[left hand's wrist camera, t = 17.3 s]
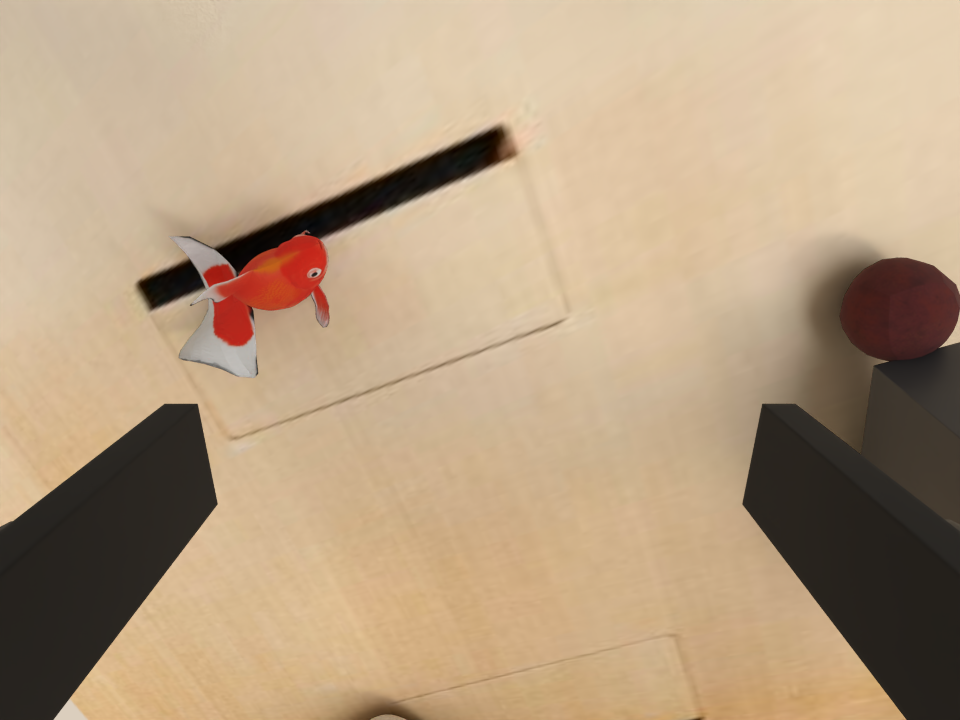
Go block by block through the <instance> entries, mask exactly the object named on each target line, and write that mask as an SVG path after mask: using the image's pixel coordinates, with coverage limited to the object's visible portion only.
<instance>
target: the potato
mask: <svg viewBox="0 0 960 720" xmlns="http://www.w3.org/2000/svg"><path fill="white" fill-rule="evenodd" d="M959 311H960V294H959V291H958V289H957V286H956V284H955V283H954V282H952V281H951V280H950V279H949V278H948V277H946V276H945V275H944V274H943V273H942V272H941V271H939V270H938V269H937V268H936V267H935V266H933V265H930V264H927V263H924V262H920V261H916V260H913V259H909V258H891V259H882V260H880V261H878V262H876V263H875V264H873V265H871V266H869V267H867V268H866V269H864V270H863V271H862V272H861V273H860V274H859V275H858V276H857V277H856V278H855V279H854V280H853V282H852V283H851V285H850V287H849V289H848V290H847V292H846V294H845V295H844V299H843V303H842V308H841V312H840V320H841V324H842V328H843V330H844V331H845V333H846V335H847V336H848V338H849V339H850V341H851V342H852V343H853V344H854V345H855V346H856V347H857V348H859V349H860V350H861V351H863V352H864V353H865V354H867V355H869V356H872V357H875V358H878V359H882V360H886V361H893V360H910V359H914V358H919V357H922V356H925V355H927V354H929V353H931V352H933V351H935V350H936V349H938V348H939V347H940V346H942V345H943V344H944V343H945V342H946V341H947V339H948V338H949V336H950V335H951V333H952V332H953V330H954V328H955V326H956V324H957V321H958V316H959Z"/></svg>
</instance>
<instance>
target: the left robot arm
mask: <svg viewBox="0 0 960 720" xmlns="http://www.w3.org/2000/svg"><path fill="white" fill-rule="evenodd" d="M216 506H217V499H216V494H215V489H214V484H213V479H212V474H211V469H210V464H209V458H208V453H207V448H206V443H205V438H204V433H203V428H202V423H201V418H200V413H199V408H198V404H164V405H163V406H161V407H160V408H159V409H157V410H156V411H155V412H154V413H152V414H151V415H150V416H148V417H147V418H146V419H144V420H143V421H142V422H141V423H139V424H138V425H137V426H135V427H134V428H133V429H132V430H130V431H129V432H128V433H126V434H125V435H124V436H123V437H121V438H120V439H119V440H117V441H116V442H115V443H113V444H112V445H111V446H110V447H108V448H107V449H106V450H104V451H103V452H102V453H101V454H99V455H98V456H97V457H95V458H94V459H93V460H92V461H90V462H89V463H88V464H86V465H85V466H84V467H82V468H81V469H80V470H79V471H77V472H76V473H75V474H73V475H72V476H71V477H70V478H68V479H67V480H66V481H64V482H63V483H62V484H61V485H59V486H58V487H57V488H55V489H54V490H53V491H51V492H50V493H49V494H48V495H46V496H45V497H44V498H42V499H41V500H40V501H39V502H37V503H36V504H35V505H33V506H32V507H31V508H30V509H28V510H27V511H26V512H24V513H23V514H22V515H20V516H19V517H18V518H17V519H15V520H14V521H11V522H9V523H7V524H5V525H3V526H1V527H0V720H54V718H55V717H56V716H57V714H58V713H59V712H60V710H61V709H62V708H63V706H64V705H65V704H66V702H67V701H68V700H69V699H70V697H71V696H72V695H73V693H74V692H75V691H76V689H77V688H78V687H79V685H80V684H81V683H82V681H83V680H84V679H85V678H86V676H87V675H88V674H89V672H90V671H91V670H92V668H93V667H94V666H95V664H96V663H97V662H98V660H99V659H100V658H101V657H102V655H103V654H104V653H105V651H106V650H107V649H108V647H109V646H110V645H111V643H112V642H113V641H114V639H115V638H116V637H117V636H118V634H119V633H120V632H121V630H122V629H123V628H124V626H125V625H126V624H127V622H128V621H129V620H130V618H131V617H132V616H133V615H134V613H135V612H136V611H137V609H138V608H139V607H140V605H141V604H142V603H143V601H144V600H145V599H146V597H147V596H148V595H149V594H150V592H151V591H152V590H153V588H154V587H155V586H156V584H157V583H158V582H159V580H160V579H161V578H162V576H163V575H164V574H165V573H166V571H167V570H168V569H169V567H170V566H171V565H172V563H173V562H174V561H175V559H176V558H177V557H178V555H179V554H180V553H181V552H182V550H183V549H184V548H185V546H186V545H187V544H188V542H189V541H190V540H191V538H192V537H193V536H194V534H195V533H196V532H197V531H198V529H199V528H200V527H201V525H202V524H203V523H204V521H205V520H206V519H207V517H208V516H209V515H210V513H211V512H212V511H213V510H214V508H215V507H216ZM743 506H744V507H745V508H746V510H747V511H748V512H749V513H750V515H751V516H752V517H753V519H754V520H755V521H756V523H757V524H758V525H759V527H760V528H761V529H762V531H763V532H764V533H765V534H766V536H767V537H768V538H769V540H770V541H771V542H772V544H773V545H774V546H775V548H776V549H777V550H778V552H779V553H780V554H781V555H782V557H783V558H784V559H785V561H786V562H787V563H788V565H789V566H790V567H791V569H792V570H793V571H794V573H795V574H796V575H797V576H798V578H799V579H800V580H801V582H802V583H803V584H804V586H805V587H806V588H807V590H808V591H809V592H810V594H811V595H812V596H813V597H814V599H815V600H816V601H817V603H818V604H819V605H820V607H821V608H822V609H823V611H824V612H825V613H826V615H827V616H828V617H829V618H830V620H831V621H832V622H833V624H834V625H835V626H836V628H837V629H838V630H839V632H840V633H841V634H842V636H843V637H844V638H845V639H846V641H847V642H848V643H849V645H850V646H851V647H852V649H853V650H854V651H855V653H856V654H857V655H858V657H859V658H860V659H861V660H862V662H863V663H864V664H865V666H866V667H867V668H868V670H869V671H870V672H871V674H872V675H873V676H874V678H875V679H876V680H877V681H878V683H879V684H880V685H881V687H882V688H883V689H884V691H885V692H886V693H887V695H888V696H889V697H890V699H891V700H892V701H893V702H894V704H895V705H896V706H897V708H898V709H899V710H900V712H901V713H902V714H903V716H904V717H905V718H906V720H960V524H958V523H956V522H954V521H952V520H950V519H943V518H942V517H941V516H940V515H938V514H937V513H936V512H934V511H933V510H932V509H930V508H929V507H928V506H927V505H925V504H924V503H923V502H921V501H920V500H919V499H918V498H916V497H915V496H914V495H912V494H911V493H910V492H909V491H907V490H906V489H905V488H903V487H902V486H901V485H899V484H898V483H897V482H896V481H894V480H893V479H892V478H890V477H889V476H888V475H887V474H885V473H884V472H883V471H881V470H880V469H879V468H878V467H876V466H875V465H874V464H872V463H871V462H870V461H868V460H867V459H866V458H865V457H863V456H862V455H861V454H859V453H858V452H857V451H856V450H854V449H853V448H852V447H850V446H849V445H848V444H847V443H845V442H844V441H843V440H841V439H840V438H839V437H837V436H836V435H835V434H834V433H832V432H831V431H830V430H828V429H827V428H826V427H825V426H823V425H822V424H821V423H819V422H818V421H817V420H816V419H814V418H813V417H812V416H810V415H809V414H808V413H806V412H805V411H804V410H803V409H801V408H800V407H799V406H797V405H796V404H762V408H761V413H760V418H759V423H758V428H757V433H756V438H755V443H754V448H753V453H752V458H751V464H750V469H749V474H748V479H747V484H746V489H745V494H744V499H743Z"/></svg>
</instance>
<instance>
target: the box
mask: <svg viewBox="0 0 960 720" xmlns="http://www.w3.org/2000/svg"><path fill="white" fill-rule="evenodd" d="M861 455H862V456H863V457H865V458H866V459H867V460H868V461H870V462H871V463H872V464H874V465H875V466H876V467H878V468H879V469H880V470H881V471H883V472H884V473H885V474H887V475H888V476H889V477H890V478H892V479H893V480H894V481H896V482H897V483H898V484H899V485H901V486H902V487H903V488H905V489H906V490H907V491H909V492H910V493H911V494H912V495H914V496H915V497H916V498H918V499H919V500H920V501H921V502H923V503H924V504H925V505H927V506H928V507H929V508H930V509H932V510H933V511H934V512H936V513H937V514H938V515H940V516H941V517H942V518H943V519H950V520H952V521H954V522H956V523H958V524H960V342H959V343H956V344H952V345H948V346H944V347H941V348H938V349H936V350H935V351H933V352H931V353H929V354H927V355H925V356H922V357H919V358H914V359H910V360H893V361H889V362H886V363H882V364H878V365H875V366H873V373H872V380H871V387H870V394H869V401H868V409H867V416H866V423H865V430H864V437H863V444H862V451H861Z"/></svg>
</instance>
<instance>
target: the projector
mask: <svg viewBox="0 0 960 720" xmlns="http://www.w3.org/2000/svg"><path fill="white" fill-rule="evenodd" d="M370 720H406V719H404V718H402V717H399V716H395V715H380V716H377V717H374V718H372V719H370Z"/></svg>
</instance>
